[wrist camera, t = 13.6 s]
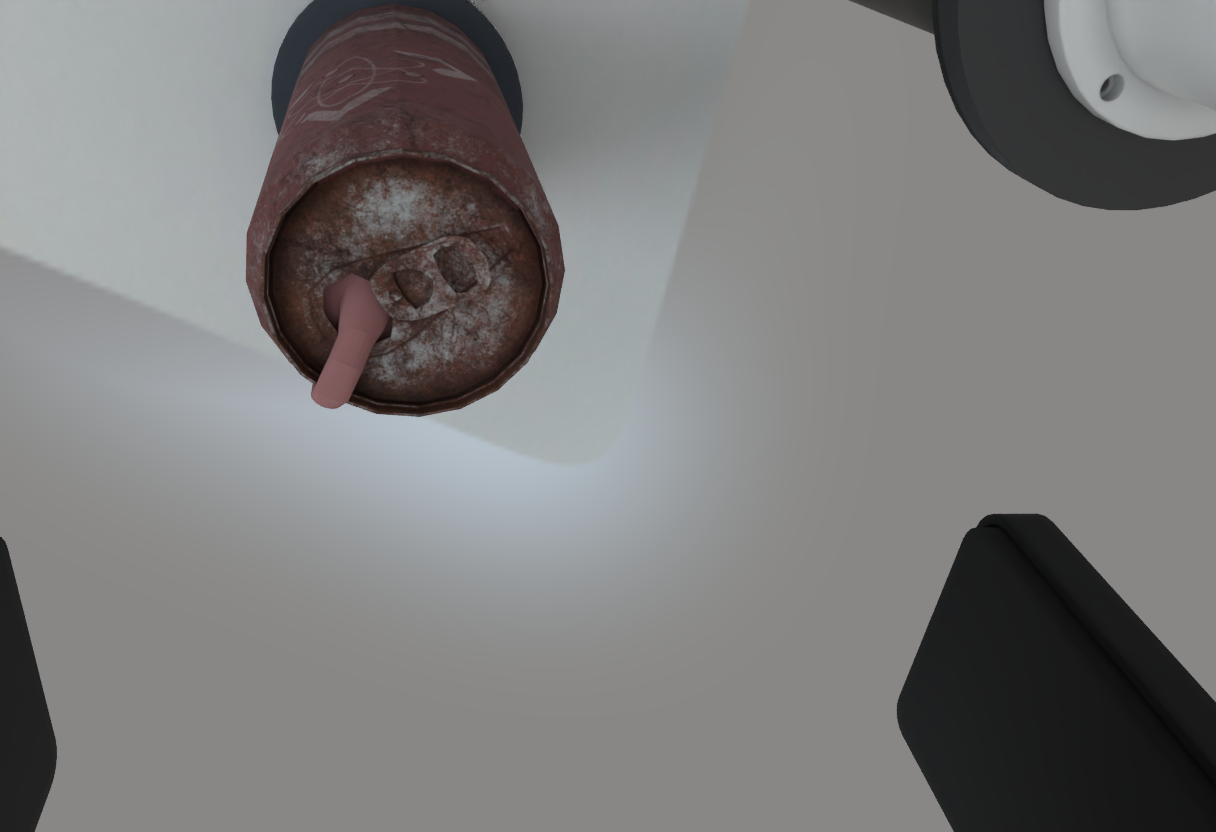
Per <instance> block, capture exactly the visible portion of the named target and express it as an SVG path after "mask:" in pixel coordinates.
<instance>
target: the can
mask: <svg viewBox="0 0 1216 832" xmlns="http://www.w3.org/2000/svg"><path fill="white" fill-rule="evenodd" d="M564 272H565V268H564V261H563V254H562V247H561V240H560V233H559V226H558V224H557V221H556V219H555V216H554V214H553V212H552V209H551V207H550V205H549V202H548V200H547V198H546V195H545V193H544V191H543V188H542V186H541V184H540V181H539V179H538V177H537V174H536V172H535V170H534V167H533V165H532V162H531V160H530V158H529V155H528V153H527V151H526V148H525V146H524V144H523V141H522V139H521V137H520V134H519V132H518V130H517V127H516V125H515V123H514V120H513V118H512V116H511V113H510V111H509V109H508V106H507V104H506V101H505V99H504V97H503V94H502V92H501V90H500V87H499V85H498V83H497V80H496V78H495V76H494V74H493V72H492V70H491V68H490V66H489V64H488V63H487V61H486V59H485V57H484V55H483V53H482V51H481V50H480V49H479V48H478V47H477V46H476V44H475V43H474V42H473V41H472V40H471V39H470V38H469V37H468V36H467V35H466V34H465V33H464V32H463V31H462V30H461V29H460V28H459V27H458V26H457V25H455V24H453V23H451V22H449V21H447V20H445V19H444V18H442V17H440V16H438V15H436V14H434V13H433V12H431V11H429V10H426V9H421V8H415V7H410V6H404V5H399V4H388V5H381V6H374V7H367V8H361V9H359V10H357V11H355V12H353V13H351V14H349V15H347V16H345V17H344V18H342V19H340V20H338V21H336V22H334V23H332V24H331V25H330V26H329V27H328V28H327V29H326V30H325V32H324V33H323V34H322V35H321V36H320V37H319V38H318V39H317V41H316V42H315V43H314V44H313V45H312V46H311V47H310V48H309V51H308V53H307V56H306V58H305V61H304V63H303V66H302V68H301V71H300V73H299V76H298V78H297V81H296V84H295V87H294V90H293V93H292V97H291V100H290V103H289V106H288V109H287V112H286V115H285V118H284V121H283V124H282V127H281V130H280V133H279V136H278V140H277V143H276V146H275V149H274V152H273V155H272V158H271V161H270V164H269V167H268V170H267V173H266V176H265V179H264V182H263V186H262V189H261V192H260V195H259V198H258V201H257V204H256V207H255V210H254V213H253V216H252V219H251V222H250V225H249V228H248V232H247V255H246V282H247V285H248V288H249V291H250V294H251V297H252V300H253V303H254V306H255V308H256V311H257V314H258V317H259V320H260V323H261V326H262V327H263V328H264V330H265V331H266V332H267V333H268V335H269V336H270V337H271V339H272V340H273V341H274V343H275V344H276V345H277V346H278V348H279V349H280V350H281V352H282V353H283V354H284V356H285V357H286V358H287V359H288V361H289V362H290V363H291V364H292V365H293V366H294V367H295V368H296V369H297V371H298V372H299V373H300V375H302V376H303V377H305V378H306V379H307V380H309V381H310V382H312V383H313V385H312V392H311V397H312V399H313V400H314V401H315V402H316V403H317V404H319V405H320V406H323V407H325V408H330V409H334V408H338V407H340V406H341V405H343V404H345V403H348V404H350V405H353V406H356V407H359V408H362V409H364V410H367V411H370V412H373V413H376V414H387V415H402V416H416V417H421V416H426V415H431V414H436V413H441V412H447V411H452V410H457V409H461V408H463V407H465V406H467V405H469V404H471V403H473V402H475V401H477V400H479V399H481V398H483V397H485V396H487V395H489V394H491V393H493V392H495V391H497V390H499V389H500V388H501V387H502V386H503V385H504V384H505V383H506V382H507V381H508V380H509V379H510V378H511V377H513V376H514V375H515V374H516V373H517V372H518V371H519V370H520V369H521V368H522V367H523V366H524V365H525V364H527V362H528V361H529V359H530V357H531V355H532V354H533V352H535V350H536V349H537V347H538V345H539V343H540V342H541V340H542V338H543V336H544V335H545V333H546V331H547V329H548V327H549V326H550V324H551V322H552V320H553V319H554V317H555V315H556V313H557V308H558V303H559V298H560V293H561V288H562V283H563V277H564Z"/></svg>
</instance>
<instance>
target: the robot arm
mask: <svg viewBox="0 0 1216 832" xmlns="http://www.w3.org/2000/svg"><path fill="white" fill-rule="evenodd" d="M1044 11H1045V19H1046V28H1047V37H1048V42H1049V45H1050V48H1051V51H1052V54H1053V57H1054V60H1055V63H1056V67H1057V70H1058V72H1059V74H1060V75H1061V77H1062V78H1063V80H1064V82H1065V83H1066V85H1067V87H1068V88H1069V90H1070V91H1071V93H1072V95H1073V96H1074V97H1075V98H1076V99H1077V100H1078V101H1079V102H1080V103H1081V104H1082V105H1083V106H1084V107H1085V108H1087V109H1088V110H1089V111H1090V112H1091V113H1092V114H1093V115H1094V116H1096V117H1098V118H1100V119H1102V120H1104V121H1106V122H1108V123H1110V124H1111V125H1113V126H1115V127H1117V128H1120V129H1123V130H1125V131H1128V132H1131V133H1134V134H1136V135H1139V136H1142V137H1145V138H1153V139H1163V140H1173V141H1174V140H1183V139H1191V138H1199V137H1205V136H1209V135H1212V134H1215V133H1216V0H1044ZM897 719H898V724H899V728H900V730H901V733H902V735H903V737H904V739H905V741H906V743H907V745H908V746H909V748H910V750H911V752H912V754H913V756H914V758H915V760H916V761H917V763H918V765H919V767H920V769H921V771H922V773H923V774H924V776H925V778H926V780H927V782H928V784H929V786H930V788H931V790H932V791H933V793H934V795H935V797H936V799H937V801H938V803H939V804H940V806H941V808H942V810H943V812H944V814H945V816H946V818H947V819H948V822H949V823H950V825H951V827H952V829H953V831H954V832H1216V702H1215V701H1214V700H1213V699H1212V698H1211V697H1210V695H1209V694H1208V693H1207V692H1206V691H1205V690H1204V689H1203V688H1202V687H1201V686H1200V685H1199V683H1198V682H1197V681H1196V680H1195V679H1194V678H1193V677H1192V676H1191V674H1190V673H1188V671H1187V670H1186V669H1185V668H1184V667H1183V666H1182V665H1181V663H1180V662H1179V661H1178V660H1177V659H1176V658H1175V657H1174V656H1173V655H1172V653H1171V652H1170V651H1169V650H1168V649H1167V648H1166V647H1165V646H1164V645H1163V644H1162V642H1161V641H1160V640H1159V639H1158V638H1157V637H1156V636H1155V635H1154V634H1153V633H1152V632H1151V630H1150V629H1149V628H1148V627H1147V626H1146V625H1145V624H1144V623H1143V621H1142V620H1141V619H1140V618H1139V617H1138V616H1137V615H1136V614H1135V613H1134V612H1133V610H1132V609H1131V608H1130V607H1129V606H1128V605H1127V604H1126V603H1125V601H1124V600H1123V599H1122V598H1121V597H1120V596H1119V595H1118V594H1117V593H1116V592H1115V591H1114V589H1113V588H1112V587H1111V586H1110V585H1109V584H1108V583H1107V582H1106V580H1105V579H1103V577H1102V576H1101V575H1100V574H1099V573H1098V572H1097V571H1096V569H1094V567H1093V566H1092V565H1091V564H1090V563H1089V562H1088V561H1087V560H1086V558H1085V557H1084V556H1083V555H1082V554H1081V553H1080V552H1079V551H1078V550H1077V548H1076V547H1075V546H1074V545H1073V544H1072V543H1071V542H1070V541H1069V540H1068V538H1067V537H1066V536H1065V535H1064V534H1063V533H1062V532H1061V531H1060V530H1059V529H1058V527H1057V526H1056V525H1055V524H1054V523H1053V522H1052V521H1050V519H1048V518H1047V517H1046V516H1043V515H1039V514H991V515H987V516H985V517H984V518H983V519H982V520H981V521H980V522H979V524H978V526H977V527H976V528H972V529H970V530H969V531H968V532H967V534H966V535H965V537H964V538H963V541H962V543H961V546H960V548H959V551H958V553H957V556H956V558H955V561H954V563H953V565H952V568H951V571H950V573H949V576H948V578H947V580H946V583H945V585H944V588H943V590H942V593H941V595H940V598H939V600H938V602H937V605H936V607H935V610H934V612H933V615H932V617H931V620H930V622H929V625H928V627H927V629H926V632H925V634H924V637H923V639H922V642H921V644H920V647H919V649H918V652H917V654H916V657H915V659H914V662H913V664H912V666H911V669H910V671H909V674H908V676H907V679H906V681H905V684H904V686H903V689H902V691H901V694H900V696H899V699H898V703H897ZM56 760H57V746H56V740H55V736H54V732H53V728H52V724H51V720H50V716H49V712H48V708H47V704H46V700H45V696H44V692H43V688H42V684H41V680H40V676H39V672H38V668H37V664H36V659H35V655H34V651H33V647H32V643H31V640H30V635H29V631H28V627H27V623H26V619H25V615H24V611H23V608H22V604H21V600H20V595H19V592H18V587H17V584H16V579H15V576H14V572H13V568H12V564H11V559H10V556H9V551H8V548H7V545H6V543H5V541H4V540H3V539H2V537H0V832H34V831H35V829H36V826H37V823H38V821H39V818H40V815H41V812H42V810H43V807H44V804H45V802H46V799H47V796H48V794H49V791H50V788H51V785H52V782H53V778H54V774H55V769H56Z"/></svg>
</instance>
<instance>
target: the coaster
mask: <svg viewBox="0 0 1216 832" xmlns="http://www.w3.org/2000/svg"><path fill="white" fill-rule="evenodd" d="M388 4H399V5H404V6H410V7H415V8H421V9H426V10H429V11H431V12H433V13H434V14H436V15H438V16H440V17H442V18H444V19H445V20H447V21H449V22H451V23H453V24H455V25H457V26H458V27H459V28H460V29H461V30H462V31H463V32H464V33H465V34H466V35H467V36H468V37H469V38H470V39H471V40H472V41H473V42H474V43H475V44H476V46H477V47H478V48H479V49H480V50H481V51H482V53H483V55H484V57H485V59H486V61H487V63H488V64H489V66H490V68H491V70H492V72H493V74H494V76H495V78H496V80H497V83H498V85H499V87H500V90H501V92H502V94H503V97H504V99H505V101H506V104H507V106H508V109H509V111H510V113H511V116H512V118H513V120H514V123H515V125H516V127H517V130H518V132H519V134H520V132H521V126H522V113H523V103H522V93H521V86H520V82H519V78H518V73H517V70H516V68H515V65H514V62H513V60H512V57H511V55H510V53H509V51H508V49H507V47H506V45H505V43H504V42H503V40H502V38H501V37H500V35H499V34H498V32H497V31H496V29H495V28H494V26H493V25H492V24H491V23H490V22H489V20H488V19H487V18H486V17H485V16H484V15H483V14H482V13H481V12H480V11H479V10H478V9H477V8H476V7H475V6H473V5H472V4H471V3H470V2H469V1H468V0H314V1H313V2H311V3H310V4H309V5H308V6H307V7H306V8H305V9H304V11H303V12H302V13H301V14H300V15H299V16H298V17H297V19H296V20H295V22H294V23H293V25H292V26H291V27H290V29H289V30H288V32H287V35H286V37H285V39H284V41H283V43H282V45H281V47H280V50H279V53H278V56H277V59H276V62H275V66H274V72H273V78H272V97H271V99H272V108H273V116H274V120H275V124H276V128H277V132H278V135H279V133H280V130H281V127H282V124H283V121H284V118H285V115H286V112H287V109H288V106H289V103H290V100H291V97H292V93H293V90H294V87H295V84H296V81H297V78H298V76H299V73H300V71H301V68H302V66H303V63H304V61H305V58H306V56H307V53H308V51H309V48H310V47H311V46H312V45H313V44H314V43H315V42H316V41H317V39H318V38H319V37H320V36H321V35H322V34H323V33H324V32H325V30H326V29H327V28H328V27H329V26H330V25H331V24H332V23H334V22H336V21H338V20H340V19H342V18H344V17H345V16H347V15H349V14H351V13H353V12H355V11H357V10H359V9H361V8H367V7H374V6H381V5H388Z"/></svg>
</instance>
